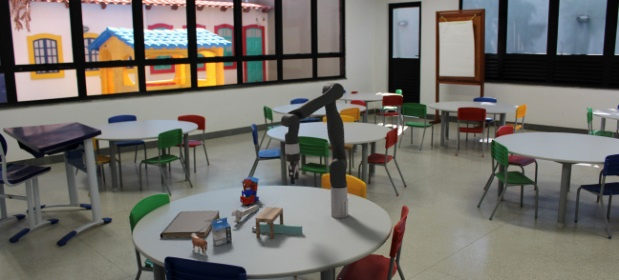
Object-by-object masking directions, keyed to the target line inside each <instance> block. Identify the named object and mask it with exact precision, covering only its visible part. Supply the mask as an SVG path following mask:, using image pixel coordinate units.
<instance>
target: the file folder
mask: <svg viewBox="0 0 619 280" xmlns="http://www.w3.org/2000/svg"><path fill="white" fill-rule="evenodd" d="M219 217H220V210H187V211H186V210H183V211H180V212H179V213H177V214H176V216H175V217H174V218H173V219H172V220H171V222H170V223H169V224H168V225H167V226H166V227H165V228H164V230H163V231H162V232H161V233H160V234H159V237H160V238H161V237H162V236H163V237H189V235H192V234H193V233H195V234H196V235H197V234H198V236H197V237H199V238H201V239H203V238H206V237H207V235H208V233H209V232H210V231H211V230H212V221H214V220H218V218H219ZM163 237H162V238H163ZM191 237H192V236H191Z"/></svg>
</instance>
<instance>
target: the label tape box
mask: <svg viewBox="0 0 619 280" xmlns="http://www.w3.org/2000/svg"><path fill="white" fill-rule="evenodd" d="M211 234H212V244H213V246H215V247H219V246H222V245H226V244H229V243H232V242H233V241H232V240H233V239H232V227H231V225H230V223H229V222H228V217H222V218H219V219H218V218H217V219H216V220H214V221H212V227H211Z"/></svg>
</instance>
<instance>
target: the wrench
mask: <svg viewBox="0 0 619 280" xmlns="http://www.w3.org/2000/svg"><path fill="white" fill-rule="evenodd" d="M259 208H260V207H259V205H258V204H254V205H253V206H251V207H248V208H246V209H244V210H239V209H233V211H232V212H231V217H235V218H234V219H233V222H232V223H238V224H240V223H241V220H242V218H243V217H245V216H247V215H249V214H252V213H254V212H258V210H259Z"/></svg>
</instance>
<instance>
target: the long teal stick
mask: <svg viewBox="0 0 619 280" xmlns="http://www.w3.org/2000/svg"><path fill="white" fill-rule="evenodd" d="M273 225H274V234H285V235H286V234H290V235H301V234H302V235H303V225H297V224H295V225H294V224H283V225H282V224H280V223H277V224H276V223H273ZM260 233H269V234H270V224H267V223H264V222H260Z"/></svg>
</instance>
